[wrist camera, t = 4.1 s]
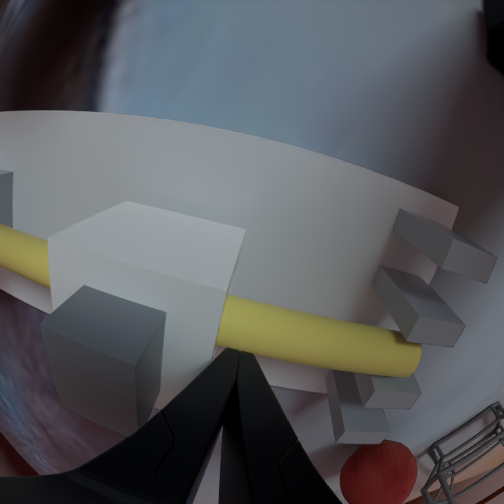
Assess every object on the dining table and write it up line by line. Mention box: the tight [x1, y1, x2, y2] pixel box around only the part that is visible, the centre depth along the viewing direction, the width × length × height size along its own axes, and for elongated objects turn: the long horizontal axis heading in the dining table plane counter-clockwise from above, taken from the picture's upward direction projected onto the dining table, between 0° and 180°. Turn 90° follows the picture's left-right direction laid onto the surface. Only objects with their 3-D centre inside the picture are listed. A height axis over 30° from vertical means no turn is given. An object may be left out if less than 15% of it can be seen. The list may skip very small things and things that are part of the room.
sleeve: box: [39, 201, 246, 437], centre depth 9 cm, size 5×5×7 cm
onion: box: [340, 440, 417, 504], centre depth 15 cm, size 6×6×8 cm
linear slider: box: [0, 111, 497, 444], centre depth 11 cm, size 26×12×6 cm, turn 76°
